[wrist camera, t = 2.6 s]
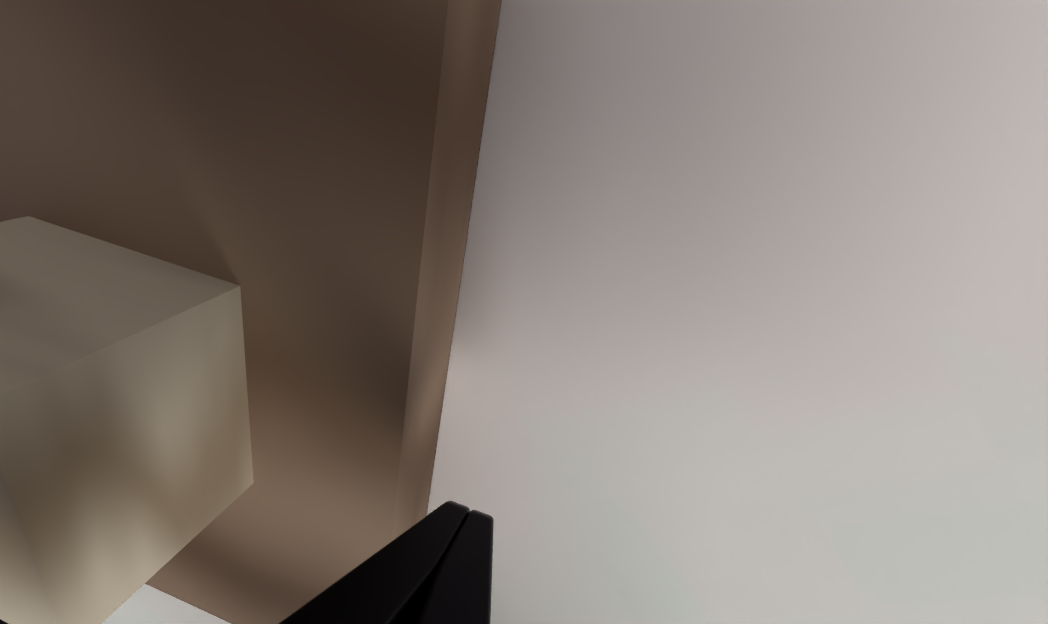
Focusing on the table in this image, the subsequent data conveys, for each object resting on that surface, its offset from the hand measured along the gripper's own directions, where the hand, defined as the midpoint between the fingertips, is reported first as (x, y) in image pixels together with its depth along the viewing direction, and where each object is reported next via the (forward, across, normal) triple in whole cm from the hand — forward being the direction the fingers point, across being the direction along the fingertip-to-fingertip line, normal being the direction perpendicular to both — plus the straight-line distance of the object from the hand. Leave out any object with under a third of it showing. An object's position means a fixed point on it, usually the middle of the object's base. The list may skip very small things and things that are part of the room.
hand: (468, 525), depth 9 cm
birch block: (+1, +8, 0) cm, 8 cm away
